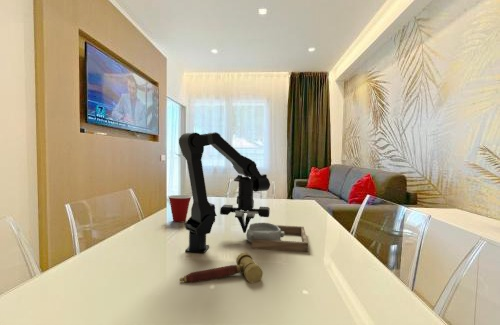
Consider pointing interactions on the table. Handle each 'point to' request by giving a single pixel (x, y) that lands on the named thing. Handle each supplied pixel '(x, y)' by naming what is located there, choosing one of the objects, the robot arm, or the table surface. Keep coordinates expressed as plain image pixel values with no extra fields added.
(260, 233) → the dish
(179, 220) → the plastic cup
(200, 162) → the robot arm
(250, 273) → the gavel
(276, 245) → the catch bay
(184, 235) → the table surface
